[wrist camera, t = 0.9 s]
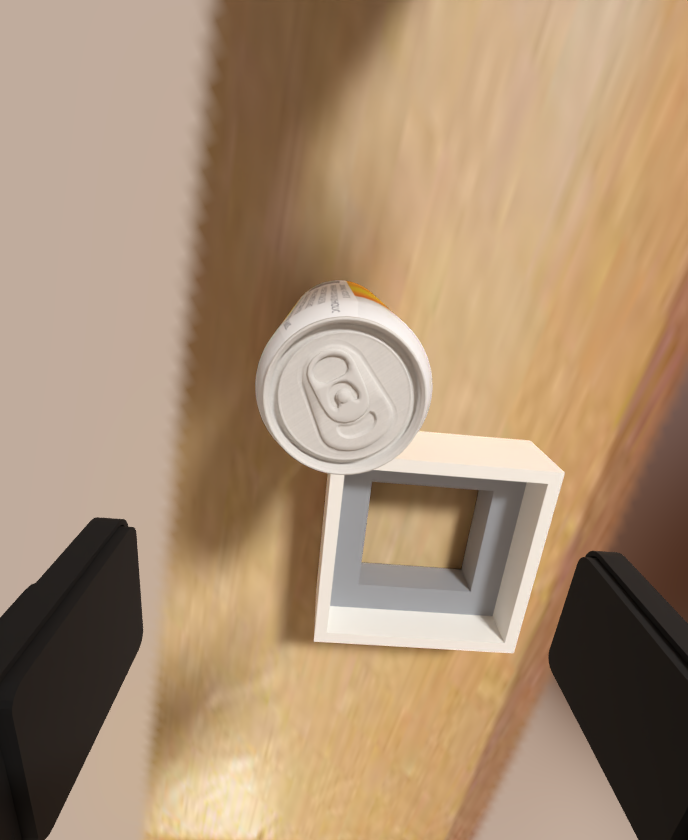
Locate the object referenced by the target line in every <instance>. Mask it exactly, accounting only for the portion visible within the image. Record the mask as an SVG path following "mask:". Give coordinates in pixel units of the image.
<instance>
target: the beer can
mask: <svg viewBox="0 0 688 840" xmlns="http://www.w3.org/2000/svg"><path fill="white" fill-rule="evenodd" d="M255 392H256V400H257V405H258V409H259V412H260V415H261V418H262V420H263V422H264V424H265V426H266V428H267V430H268V431H269V433H270V434H271V436H272V437H273V438H274V440H275V441H276V442H277V443H278V444H279V445H280V446H281V447H282V448H283V449H284V450H285V451H286V452H287V453H288V454H289V455H290V456H291V457H293V458H294V459H296V460H297V461H298V462H300V463H302V464H303V465H305V466H307V467H309V468H312V469H314V470H317V471H320V472H324V473H329V474H335V475H353V474H360V473H364V472H368V471H371V470H374V469H377V468H379V467H381V466H383V465H385V464H387V463H388V462H390V461H392V460H393V459H395V458H396V457H397V456H398V455H400V454H401V453H402V452H403V451H404V450H405V449H406V448H407V447H408V445H409V444H410V443H411V442H412V440H413V439H414V437H415V436H416V434H417V433H418V431H419V430H420V428H421V426H422V425H423V422H424V420H425V418H426V416H427V413H428V410H429V407H430V402H431V397H432V374H431V368H430V364H429V360H428V357H427V355H426V352H425V350H424V348H423V346H422V344H421V343H420V341H419V339H418V338H417V337H416V335H415V334H414V332H413V331H412V330H411V329H410V328H409V327H408V326H407V325H406V324H405V323H404V322H403V321H402V320H401V319H400V318H398V317H397V316H396V315H395V314H394V313H393V312H392V311H391V310H390V309H389V308H388V307H386V306H385V305H384V304H383V303H382V302H381V301H380V300H379V299H378V298H377V297H376V296H374V295H373V294H372V293H371V292H370V291H369V290H367V289H366V288H364V287H363V286H361V285H358V284H356V283H353V282H349V281H342V280H334V281H328V282H324V283H321V284H319V285H316V286H314V287H313V288H311V289H310V290H308V291H307V292H306V293H305V294H304V295H303V296H302V297H301V298H300V299H299V300H298V302H297V303H296V304H295V306H294V307H293V308H292V310H291V311H290V312H289V314H288V315H287V317H286V318H285V319H284V321H283V322H282V323H281V325H280V326H279V327H278V329H277V330H276V331H275V333H274V334H273V336H272V337H271V338H270V340H269V342H268V343H267V345H266V347H265V349H264V351H263V353H262V355H261V358H260V361H259V363H258V368H257V372H256V381H255Z"/></svg>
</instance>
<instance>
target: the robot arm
mask: <svg viewBox="0 0 688 840" xmlns="http://www.w3.org/2000/svg"><path fill="white" fill-rule="evenodd" d="M142 622H143V621H142V607H141V593H140V579H139V566H138V551H137V536H136V530H135V528H134V527H128V524H127V522H126V520H124V519H111V518H94V519H92V520H91V521H90V522H89V523H88V524H87V526H86V527H85V528H84V529H83V530H82V531H81V532H80V534H79V535H78V536H77V537H76V538H75V539H74V540H73V542H72V543H71V544H70V545H69V546H68V547H67V548H66V549H65V551H64V552H63V553H62V554H61V555H60V556H59V557H58V559H57V560H56V561H55V562H54V563H53V564H52V565H51V566H50V568H49V569H48V570H47V571H46V572H45V573H44V574H43V575H42V577H41V578H40V579H39V580H38V581H37V582H36V583H35V584H32V585H30V586H29V587H28V588H27V589H26V590H25V591H24V592H23V593H22V594H21V595H20V596H19V597H18V598H17V600H16V601H15V602H14V603H13V604H12V605H11V606H10V607H9V609H8V610H7V611H6V612H5V613H4V614H3V615H2V616H1V617H0V840H45V839H46V838H47V837H48V835H49V834H50V832H51V830H52V828H53V827H54V825H55V822H56V820H57V818H58V816H59V814H60V812H61V810H62V808H63V806H64V804H65V802H66V800H67V798H68V795H69V793H70V791H71V789H72V787H73V785H74V783H75V781H76V779H77V777H78V775H79V772H80V770H81V768H82V766H83V764H84V762H85V760H86V758H87V756H88V754H89V752H90V750H91V748H92V746H93V743H94V741H95V739H96V737H97V735H98V733H99V731H100V729H101V727H102V725H103V723H104V720H105V719H106V716H107V714H108V712H109V710H110V708H111V706H112V704H113V702H114V700H115V698H116V696H117V693H118V691H119V689H120V687H121V685H122V683H123V681H124V679H125V677H126V675H127V673H128V671H129V669H130V666H131V664H132V662H133V660H134V658H135V656H136V654H137V652H138V650H139V647H140V644H141V641H142V636H143V623H142ZM549 665H550V668H551V671H552V673H553V675H554V677H555V679H556V681H557V683H558V685H559V687H560V689H561V690H562V692H563V694H564V696H565V698H566V700H567V702H568V704H569V706H570V708H571V710H572V712H573V714H574V716H575V718H576V719H577V721H578V723H579V725H580V727H581V729H582V731H583V733H584V735H585V737H586V739H587V741H588V742H589V744H590V747H591V749H592V750H593V752H594V754H595V756H596V758H597V760H598V762H599V764H600V766H601V768H602V770H603V772H604V773H605V776H606V777H607V780H608V781H609V783H610V785H611V787H612V789H613V791H614V793H615V795H616V797H617V799H618V801H619V803H620V805H621V807H622V809H623V811H624V812H625V814H626V816H627V818H628V820H629V822H630V824H631V826H632V828H633V830H634V832H635V834H636V836H637V838H638V840H688V623H687V622H686V621H685V620H684V619H683V618H682V617H681V616H680V615H679V614H678V613H677V612H676V611H675V610H674V609H673V607H672V606H671V605H670V604H669V603H668V602H667V601H666V600H665V599H664V598H663V597H662V596H661V595H660V594H659V593H658V592H657V590H656V589H655V588H654V587H653V586H652V585H651V584H650V583H649V582H648V581H647V580H646V579H645V578H644V577H643V576H642V575H641V574H640V573H639V571H638V570H637V569H636V568H635V567H634V566H633V565H632V564H631V563H630V562H629V561H628V560H627V559H626V558H625V557H624V556H623V555H622V554H620V553H617V552H602V551H591V552H589V553H588V554H587V555H586V557H583V558H581V559H580V560H579V561H578V564H577V567H576V570H575V573H574V576H573V579H572V582H571V585H570V588H569V591H568V595H567V598H566V601H565V604H564V607H563V610H562V613H561V616H560V619H559V622H558V626H557V629H556V632H555V635H554V638H553V641H552V644H551V647H550V650H549Z"/></svg>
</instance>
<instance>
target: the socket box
mask: <svg viewBox="0 0 688 840" xmlns="http://www.w3.org/2000/svg"><path fill="white" fill-rule="evenodd" d="M564 474H565V472H564V471H562V470H561V469H560V468H559V467H558V466H557V465H556V464H555V463H554V462H553V461H552V460H551V459H550V458H548V457H547V456H546V455H545V454H544V453H543V452H542V451H541V450H540V449H539V448H538V447H537V446H535V445H534V444H533V443H532V442H531V441H528V440H517V439H505V438H493V437H482V436H470V435H458V434H447V433H435V432H423V431H418V433H417V434H416V436H415V437H414V439H413V440H412V442H411V443H410V444H409V445H408V447H407V448H406V449H405V450H404V451H403V452H402V453H401V454H400V455H398V456H397V457H396V458H395V459H393V460H392V461H390V462H388V463H387V464H385V465H383V466H381V467H379V468H377V469H374V470H371V471H368V472H364V473H360V474H353V475H335V474H329V473H328V475H327V485H326V495H325V505H324V515H323V526H322V536H321V546H320V556H319V566H318V577H317V587H316V605H315V627H314V642H330V643H347V644H364V645H381V646H398V647H415V648H433V649H450V650H467V651H484V652H501V653H514V650H515V647H516V643H517V640H518V636H519V633H520V629H521V626H522V622H523V618H524V615H525V611H526V608H527V604H528V601H529V597H530V594H531V590H532V587H533V583H534V580H535V576H536V573H537V569H538V566H539V562H540V559H541V555H542V551H543V548H544V544H545V541H546V537H547V534H548V530H549V527H550V523H551V520H552V516H553V513H554V509H555V506H556V502H557V499H558V495H559V492H560V488H561V484H562V481H563V477H564ZM372 482H383V483H395V484H408V485H421V486H434V487H446V488H459V489H472V490H479V491H478V496H477V500H476V505H475V510H474V514H473V519H472V523H471V528H470V532H469V537H468V541H467V546H466V551H465V555H464V560H463V564H462V569H449V568H434V567H419V566H405V565H390V564H376V563H361V561H362V554H363V546H364V539H365V531H366V524H367V516H368V509H369V501H370V494H371V486H372Z"/></svg>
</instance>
